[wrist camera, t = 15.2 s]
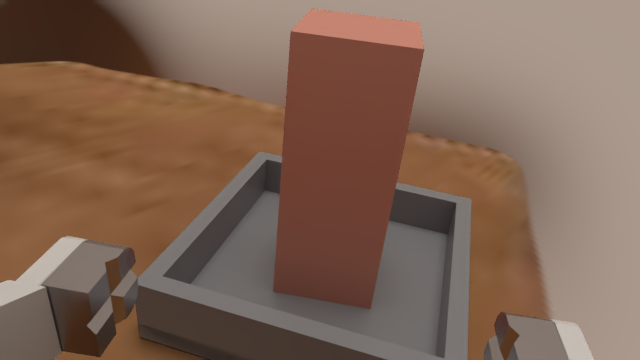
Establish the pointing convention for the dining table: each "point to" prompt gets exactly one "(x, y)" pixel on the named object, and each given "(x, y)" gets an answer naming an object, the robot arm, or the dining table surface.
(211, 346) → the parts tray
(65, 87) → the dining table surface
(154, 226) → the dining table surface
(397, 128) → the red post
